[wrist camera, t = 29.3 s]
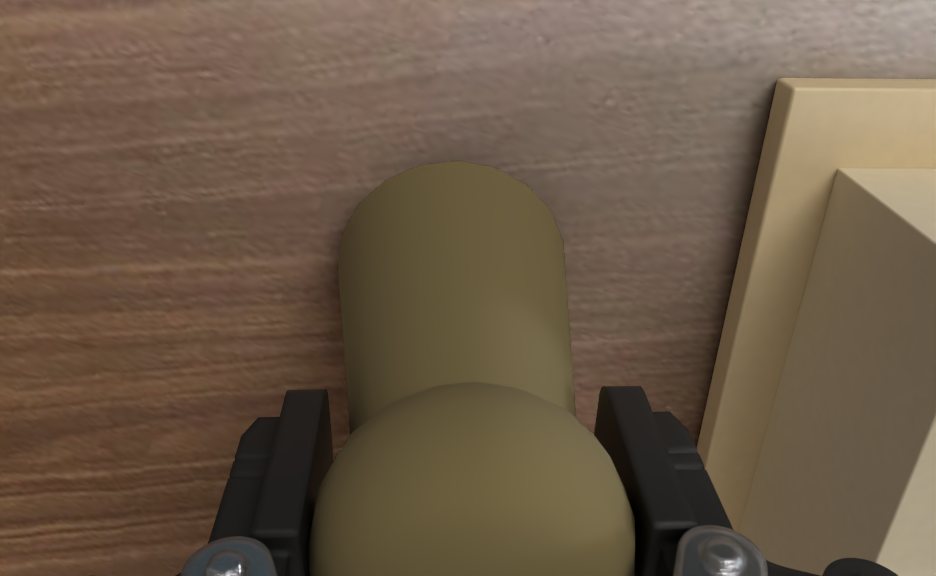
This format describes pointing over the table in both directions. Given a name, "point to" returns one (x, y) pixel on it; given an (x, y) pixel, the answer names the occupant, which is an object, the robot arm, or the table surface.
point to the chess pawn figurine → (463, 394)
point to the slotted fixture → (834, 333)
